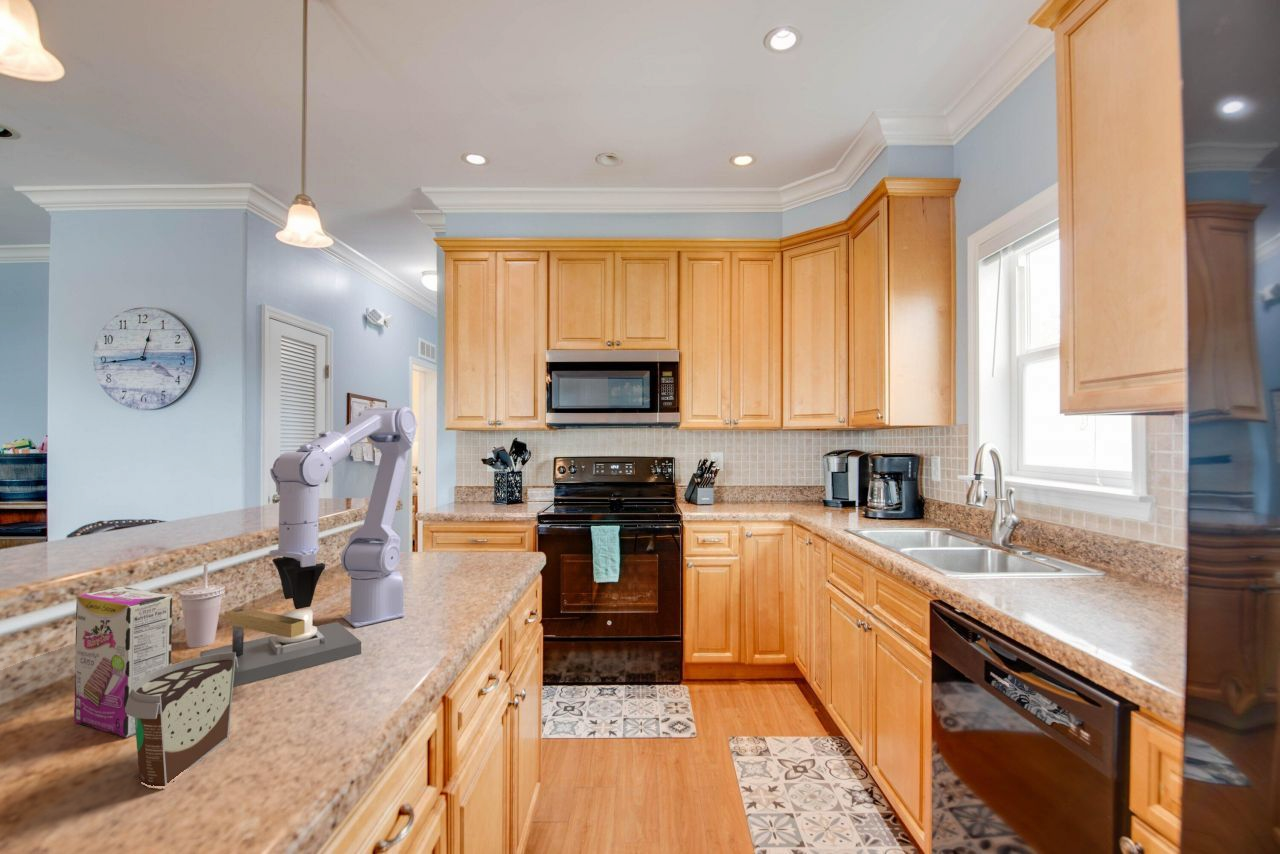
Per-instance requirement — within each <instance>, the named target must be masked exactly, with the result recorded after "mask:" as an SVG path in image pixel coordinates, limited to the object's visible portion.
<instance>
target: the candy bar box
mask: <svg viewBox="0 0 1280 854" xmlns="http://www.w3.org/2000/svg"><path fill="white" fill-rule="evenodd" d="M75 598H76V604H75V605H76V608H75V610H76V613H75V615H76V616H75V666H74V668H75V669H74V672H75V673H74V675H75V677H74V679H75V680H74V708H73V709H74V710H73V711H74V712H73V722H74V723H77V724H80V725H84V726H87V727H90V728H93V729H97V730H100V731H102V732H103V731H104V732H107V733H109V734H113V735H117V736H118V737H119V736H120V737H123V738H130V737H133V736H136V730H135V718H134V717H132V716H130V715H128V714H127V713H126V712H125V707H126V704H127V700H128V697H129V694H130V692H131V690H132V689H133V687H134V685H135V683H136V682H137V681H138V680H140V679H141V678H143V677H144V676H146V675H148V674H150V673H152V672H154V671H156V670H158V669H161V668H163V667H166V666H169V665H172V629H173V628H172V627H173V625H172V624H173V623H172V622H173V620H172V618H173V595H172V594H168V593H164V592H163V593H161V592H156V591H151V590H150V591H149V590H143V589H138V588H134V587H133V588H131V587H125V586H117V587H113V588H111V587H110V588H108V589H101V590H97V591H94V592H86V593H84V594H80V595H76V597H75Z"/></svg>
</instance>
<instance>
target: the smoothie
mask: <svg viewBox="0 0 1280 854" xmlns="http://www.w3.org/2000/svg"><path fill="white" fill-rule="evenodd" d="M208 567H209V564H208V563H205V564H203V582H202V583H203V584H202V585H200V586H195V587H189V588H186V589H184V590H180V591H179V593H178V600H180V601H181V607H182V608H181V609H182V614H183V615H182V616H183V621H184V629H185V630H184V631H185V636H186V642H187V643H186V645H187V648H190V649H195V648H203V647H207V646H210V645H212V644H214V643H215V640H216V636H217V629H218V624H219V616H220V611H221V605H222V600H223V599H222V598H223V594H224V593H225V592H226V590H225V589H226V586H225V585H223V584H209V585H208V577H209V576H208V574H209V573H208V572H209V571H208V570H209V568H208Z"/></svg>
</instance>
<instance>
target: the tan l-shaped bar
mask: <svg viewBox="0 0 1280 854" xmlns="http://www.w3.org/2000/svg"><path fill="white" fill-rule="evenodd" d="M228 624H229V626H232V641H231V642H232V644H231V645H232V652H236V657H237V656H241V655H243V642H245V641H244V637H245V636H244V634H245V633H244V631H245V629H249V630H253V631H256V632H262V633H267V634H271V635H274V636H275V635H279V636H284V637H289V638H293V637H295V636H298V635H301V634H304V628H305V620H302V619H297V618H292V617H286V616H282V615H280V614H275V613H269V612H264V611H260V610H255V609H249V608H244V607H243V608H239V609H235V610H232V611H230V612H229V622H228Z"/></svg>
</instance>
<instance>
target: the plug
mask: <svg viewBox="0 0 1280 854" xmlns="http://www.w3.org/2000/svg"><path fill="white" fill-rule="evenodd" d="M281 616H286V617H292V618H297V619H302V620H305V628H304V634H301V635H298V636H295V637H293V638H289V637H284V636H279V635H276V641H277V642H281V645H282V646H283V645H288V644H292V643H296V642H301V641H305V640H309V639H312V637H314V636H315V635H316V634H317V626H316V625H313V619H314V618H313V616H314V613H313V610H312V609H306V608H303V609H295V610H291V611H287V612H284V613H283V614H282V615H281Z"/></svg>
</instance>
